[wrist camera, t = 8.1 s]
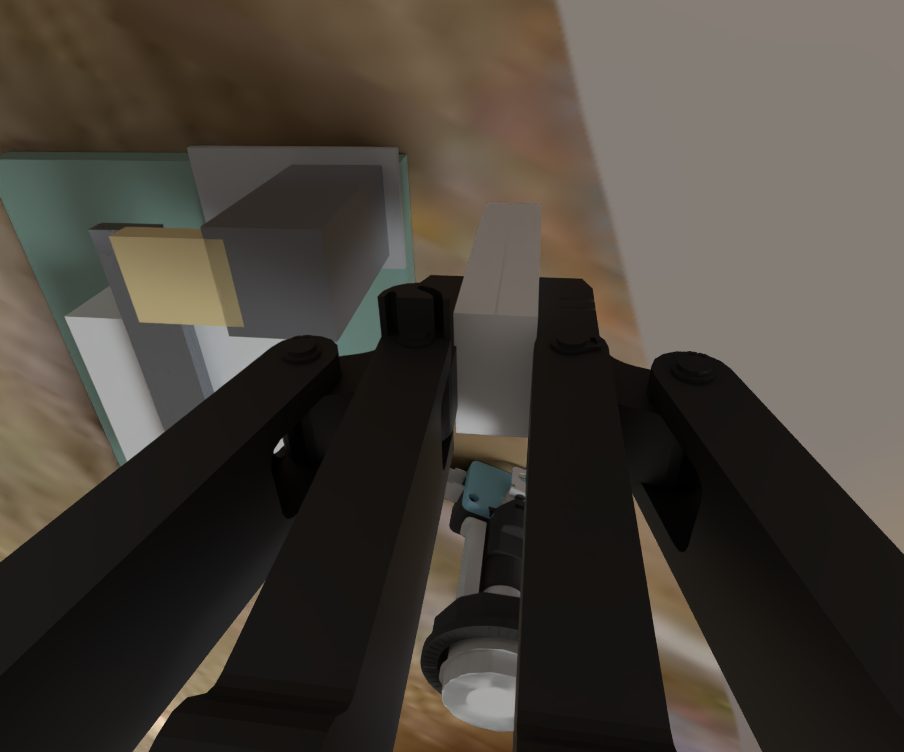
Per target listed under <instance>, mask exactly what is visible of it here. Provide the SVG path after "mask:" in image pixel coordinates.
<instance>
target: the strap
mask: <svg viewBox="0 0 904 752" xmlns="http://www.w3.org/2000/svg"><path fill="white" fill-rule="evenodd" d="M124 227H153V228H164V226H163V224H137V223H100V224H98V225H96V226H94V227H92V228H90V229H88V230H89V233H90V235H91V238H92V241H93V243H94V246H95V248H96V251H97V254H98V256H99V259H100V262H101V264H102V267H103V270H104V272H105V275H106V278H107V280H108V283H109V286H110V288H111V291H112V293H113V296H114V299H115V301H116V304H117V307H118V309H119V312H120V315H121V317H122V320H123V323H124V325H125V328H126V331H127V333H128V336H129V338H130V341H131V344H132V346H133V349H134V352H135V354H136V357H137V360H138V362H139V365H140V368H141V370H142V373H143V376H144V378H145V381H146V383H147V386H148V389H149V391H150V394H151V397H152V399H153V402H154V405H155V407H156V410H157V413H158V415H159V418H160V421H161V423H162V426H163V428H164V431H166V430H168V429H169V428H170V427H171V426H173V425H174V424H175V423H176V422H178V421H179V420H180V419H181V418H183V417H184V416H185V415H186V414H188V413H189V412H190V411H191V410H193V409H194V408H195V407H196V406H198V405H199V404H200V403H202V402H203V401H204V400H205V399H207V398H208V397H209V396H210V395H212V394H213V393H214V391H213V387H212V384H211V381H210V377H209V374H208V371H207V368H206V364H205V361H204V358H203V354H202V351H201V348H200V345H199V341H198V338H197V335H196V331H195V328H194V325H186V324H165V323H145V322H139V320H138V317H137V314H136V311H135V308H134V306H133V303H132V300H131V297H130V294H129V292H128V289H127V286H126V283H125V280H124V278H123V275H122V272H121V269H120V266H119V264H118V261H117V258H116V255H115V252H114V250H113V247H112V244H111V241H110V238H109V236H110V235H112V234H114V233H116V232H117V231H119V230H121V229H123V228H124Z"/></svg>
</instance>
